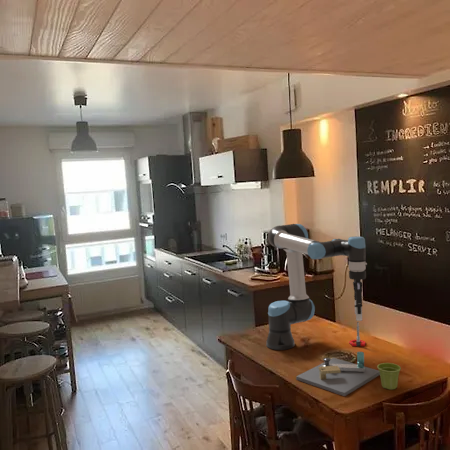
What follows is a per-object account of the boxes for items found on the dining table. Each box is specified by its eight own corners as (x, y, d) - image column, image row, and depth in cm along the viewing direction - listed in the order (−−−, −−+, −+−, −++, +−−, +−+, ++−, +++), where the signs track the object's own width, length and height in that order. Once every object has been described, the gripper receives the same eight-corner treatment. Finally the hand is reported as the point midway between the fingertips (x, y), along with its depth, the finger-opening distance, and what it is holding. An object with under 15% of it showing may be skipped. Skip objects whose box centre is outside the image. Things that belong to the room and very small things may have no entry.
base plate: (296, 379, 213) (296, 376, 212) (333, 360, 232) (333, 357, 232) (344, 396, 194) (344, 392, 194) (380, 374, 214) (380, 371, 214)
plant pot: (374, 383, 205) (373, 363, 205) (395, 381, 206) (394, 361, 205) (383, 392, 196) (382, 372, 195) (405, 390, 197) (404, 370, 196)
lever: (321, 370, 216) (320, 353, 215) (321, 366, 221) (321, 349, 220) (364, 372, 212) (364, 354, 211) (363, 367, 217) (363, 350, 216)
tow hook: (348, 341, 259) (350, 346, 250) (347, 318, 259) (349, 322, 249) (364, 341, 258) (366, 346, 249) (363, 318, 257) (366, 322, 248)
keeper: (318, 376, 211) (318, 366, 211) (337, 374, 212) (337, 365, 211) (321, 380, 206) (321, 371, 206) (340, 379, 207) (340, 370, 206)
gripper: (367, 274, 208) (368, 324, 210) (363, 265, 230) (364, 310, 232) (350, 275, 210) (351, 324, 212) (347, 265, 231) (349, 310, 233)
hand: (358, 317), depth 222 cm, fingers open, 10 cm apart
